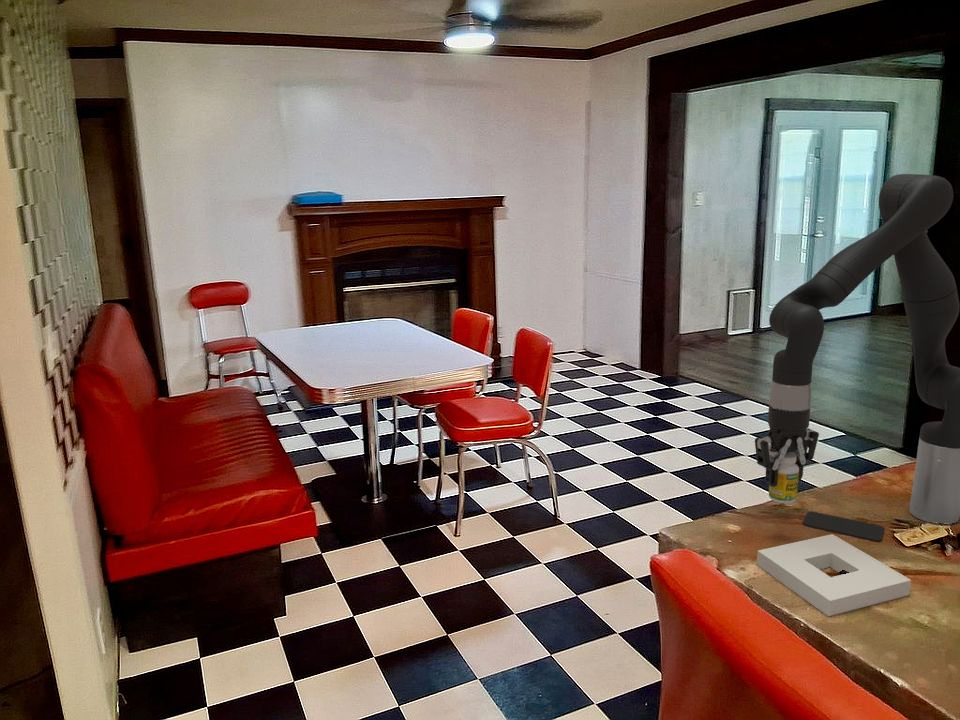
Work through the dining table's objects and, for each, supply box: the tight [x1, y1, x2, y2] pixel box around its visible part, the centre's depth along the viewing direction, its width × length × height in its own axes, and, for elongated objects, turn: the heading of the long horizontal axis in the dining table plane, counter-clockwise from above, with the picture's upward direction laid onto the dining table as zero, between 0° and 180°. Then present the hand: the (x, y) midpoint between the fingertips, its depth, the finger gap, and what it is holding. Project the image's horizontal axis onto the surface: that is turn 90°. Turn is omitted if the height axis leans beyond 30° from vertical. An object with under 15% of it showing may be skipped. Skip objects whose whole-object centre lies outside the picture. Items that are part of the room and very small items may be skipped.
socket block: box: [756, 533, 912, 617], centre depth 133 cm, size 18×18×3 cm
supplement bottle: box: [768, 451, 799, 504], centre depth 145 cm, size 5×5×10 cm
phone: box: [802, 511, 885, 543], centre depth 153 cm, size 7×1×15 cm
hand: (783, 482), depth 146 cm, fingers closed on supplement bottle, 5 cm apart
